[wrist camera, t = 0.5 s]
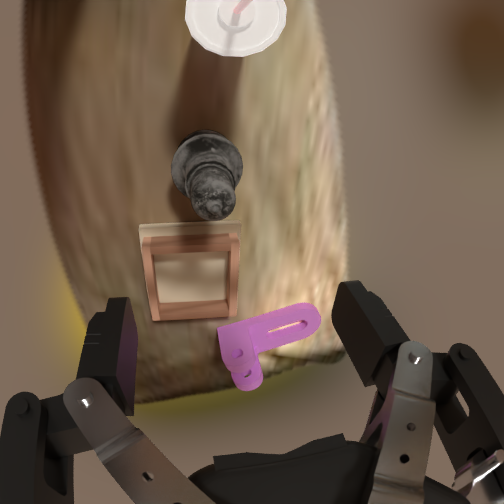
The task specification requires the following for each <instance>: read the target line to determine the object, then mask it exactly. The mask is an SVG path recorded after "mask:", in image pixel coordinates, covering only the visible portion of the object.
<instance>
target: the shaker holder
mask: <svg viewBox="0 0 504 504" xmlns="http://www.w3.org/2000/svg"><path fill="white" fill-rule="evenodd" d="M240 236H241V223H240V220H230V221H202V222H179V223H158V224H140V226H139V237H140V245H141V252H142V260H143V267H144V274H145V280H146V287H147V293H148V299H149V305H150V310H151V315H152V319H153V321H158V320H180V319H198V318H214V317H228V316H237V299H238V277H239V256H240Z"/></svg>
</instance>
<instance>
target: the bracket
mask: <svg viewBox="0 0 504 504" xmlns="http://www.w3.org/2000/svg"><path fill="white" fill-rule="evenodd" d="M300 320H303V321H302V322H301V323H299V324H296V325H293V326H290V327H287V328H283V329H280V330H277V331H274V332H268V331H270V330H272V329H275V328H278V327H282V326H285V325H288V324H291V323H294V322H297V321H300ZM320 323H321V316H320V314H319V312H318V310H317V308H316V307H315V306H314V305H312V304H310V303H297V304H294V305H291V306H288V307H285V308H281V309H278V310H275V311H272V312H269V313H265V314H262V315H259V316H256V317H252V318H249V319H246V320H242V321H239V322H236V323H232V324H229V325H225V326H222V327H218V328H217V331H218V337H219V343H220V349H221V355H222V360H223V362H224V364H225V366H226V368H227V369H228V370H229V371H231V376H232V379H233V381H234V383H235V385H236V386H237V388H239V389H240V390H243V391H251V390H254V389H256V388H257V387H258V386H259V385H260V384H261V383H262V381H263V374H262V370H261V366H260V363H259V359H258V354H259V353H260V352H263V351H266V350H269V349H273V348H276V347H279V346H282V345H285V344H288V343H292V342H295V341H298V340H301V339H304V338H306V337H308V336H310V335H312V334H313V333H314V332H315V331H316V330H317V329H318V328H319V326H320ZM248 374H251V375H250V376H249V377H246V378H244V376H246V375H248Z"/></svg>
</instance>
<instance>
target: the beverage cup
mask: <svg viewBox="0 0 504 504" xmlns="http://www.w3.org/2000/svg"><path fill="white" fill-rule="evenodd" d="M286 9H287V8H286V5H285V2H284V0H187V1H186V14H185V20H186V23H187V25H188V28H189V30H190V33H191V35H192V37H193V38H194V39H195V40H196V41H197V42H198V43H199V44H200V45H202V46H203V47H204V48H205V49H206V50H209V51H211V52H214V53H216V54H219V55H221V56H236V57H244V56H247V55H251V54H254V53H257V52H261V51H263V50H264V49H266V48H267V47H268V46H269V45H271V44H272V43H273V42H275V41H276V40H277V39H278V37H279V35H280V33H281V32H282V30H283V28H284V26H285V22H286Z"/></svg>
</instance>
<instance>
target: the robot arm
mask: <svg viewBox="0 0 504 504" xmlns="http://www.w3.org/2000/svg"><path fill="white" fill-rule="evenodd" d="M331 316H332V323H333V326H334V328H335V330H336V332H337V334H338V335H339V337H340V339H341V341H342V343H343V345H344V347H345V349H346V351H347V353H348V355H349V357H350V359H351V361H352V362H353V364H354V366H355V368H356V370H357V372H358V374H359V376H360V378H361V380H362V382H363V384H364V386H365V387H367V386H371V385H376V387H377V388H378V389H377V391H376V392H375V396H374V399H373V403H372V407H371V410H370V414H369V417H368V421H367V424H366V427H365V430H364V432H363V435H362V437H361V439H360V441H359V442H356V441H346V440H345V438H344V435H343V433H341V434H338V435H334V436H330V437H326V438H322V439H317V440H313V441H311V442H309V443H307V444H305V445H303V446H301V447H299V448H297V449H295V450H292V451H290V452H288V453H285V454H280V455H279V454H262V453H248V452H246V453H238V454H230V455H220V456H213V458H214V464H211V465H208V466H206V467H204V468H202V469H200V470H198V471H196V472H195V473H193V474H192V475H190V476H189V477H188V478H187V477H186V476H185V475H183V473H182V472H181V471H180V470H178V468H176V467H175V466H174V465H173V464H172V463H171V462H170V461H169V460H168V458H166V456H164V454H163V453H162V452H161V451H160V450H159V449H158V448H157V447H156V446H155V445H154V444H153V443H152V442H151V440H149V438H148V437H147V436H146V435H145V434H144V433H143V432H142V431H141V430H140V429H139V428H136V427H135V426H134V425H133V424H132V423H131V422H130V420H128V418H127V417H126V416H134V395H135V376H136V360H137V347H138V334H137V327H136V323H135V319H134V315H133V311H132V306H131V302H130V299H129V297H117V298H109V299H108V303H107V307H106V311H105V312H96V314H95V315H94V316H93V318H92V319H91V320H90V321H89V324H88V328H87V332H86V336H85V341H84V345H83V349H82V353H81V358H80V362H79V367H78V372H77V377H76V380H74V381H73V382H71V383H70V384H69V385H68V386H67V387H66V389H65V391H64V393H63V394H61V395H58V396H54V397H50V398H46V399H42V400H39V399H38V398H37V396H36V395H34V394H33V393H30V392H20V393H18V394H16V395H14V396H13V397H12V398H11V399H10V400H9V401H8V403H7V406H6V409H5V414H4V419H3V424H2V430H1V436H0V504H74V489H73V488H74V487H73V461H74V460H73V459H74V458H73V457H74V454H77V453H80V452H85V451H89V450H93V449H94V451H95V452H96V454H97V456H98V458H99V459H100V461H101V462H102V463H103V465H104V466H105V467H106V469H107V470H108V471H109V473H110V474H111V475H112V477H113V478H114V479H115V480H116V482H117V483H118V484H119V485H120V486H121V488H122V489H123V490H124V491H125V492H126V494H127V495H128V496H129V497H130V498H131V499H132V500H133V502H134V503H135V504H504V395H503V393H502V391H501V390H500V388H499V387H498V385H497V383H496V382H495V380H494V379H493V377H492V376H491V374H490V373H489V371H488V369H487V368H486V366H485V365H484V364H483V362H482V361H481V359H480V358H479V356H478V355H477V353H476V352H475V351H474V350H473V349H472V348H471V347H470V346H468V345H466V344H462V343H457V344H454V345H452V347H451V348H450V350H449V351H448V353H432V352H431V351H430V350H429V349H428V348H427V347H426V346H425V345H424V344H422V343H419V342H416V341H410V339H409V338H408V336H407V335H406V333H405V332H404V330H403V329H402V328H401V326H400V325H399V323H398V322H397V321H396V319H395V318H394V317H393V316H392V313H391V312H390V311H389V309H387V307H386V305H385V304H384V302H383V301H382V300H381V298H379V297H378V296H376V295H375V294H374V293H372V292H371V291H369V292H368V291H367V290H366V289H365V287H364V286H363V284H362V283H361V282H360V281H359V280H356V281H346V282H341V283H340V284H339V286H338V289H337V293H336V297H335V301H334V305H333V309H332V315H331ZM458 391H460V393H461V394H462V396H463V398H464V400H465V401H466V403H467V405H468V407H469V416H467V415H466V413H465V411H464V409H463V407H462V406H461V404H460V402H459V400H458V398H457V397H456V394H457V393H458ZM433 425H434V426H435V428H436V430H437V432H438V435H439V436H440V439H441V440H442V443H443V445H444V447H445V449H446V451H447V454H448V456H449V458H450V460H451V463H452V465H453V467H454V469H455V472H456V474H455V477H454V483H453V484H452V489H451V488H449V487H447V486H445V485H443V484H441V483H439V482H437V481H435V480H433V479H431V478H429V477H427V476H425V473H426V468H427V463H428V457H429V451H430V446H431V439H432V432H433Z"/></svg>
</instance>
